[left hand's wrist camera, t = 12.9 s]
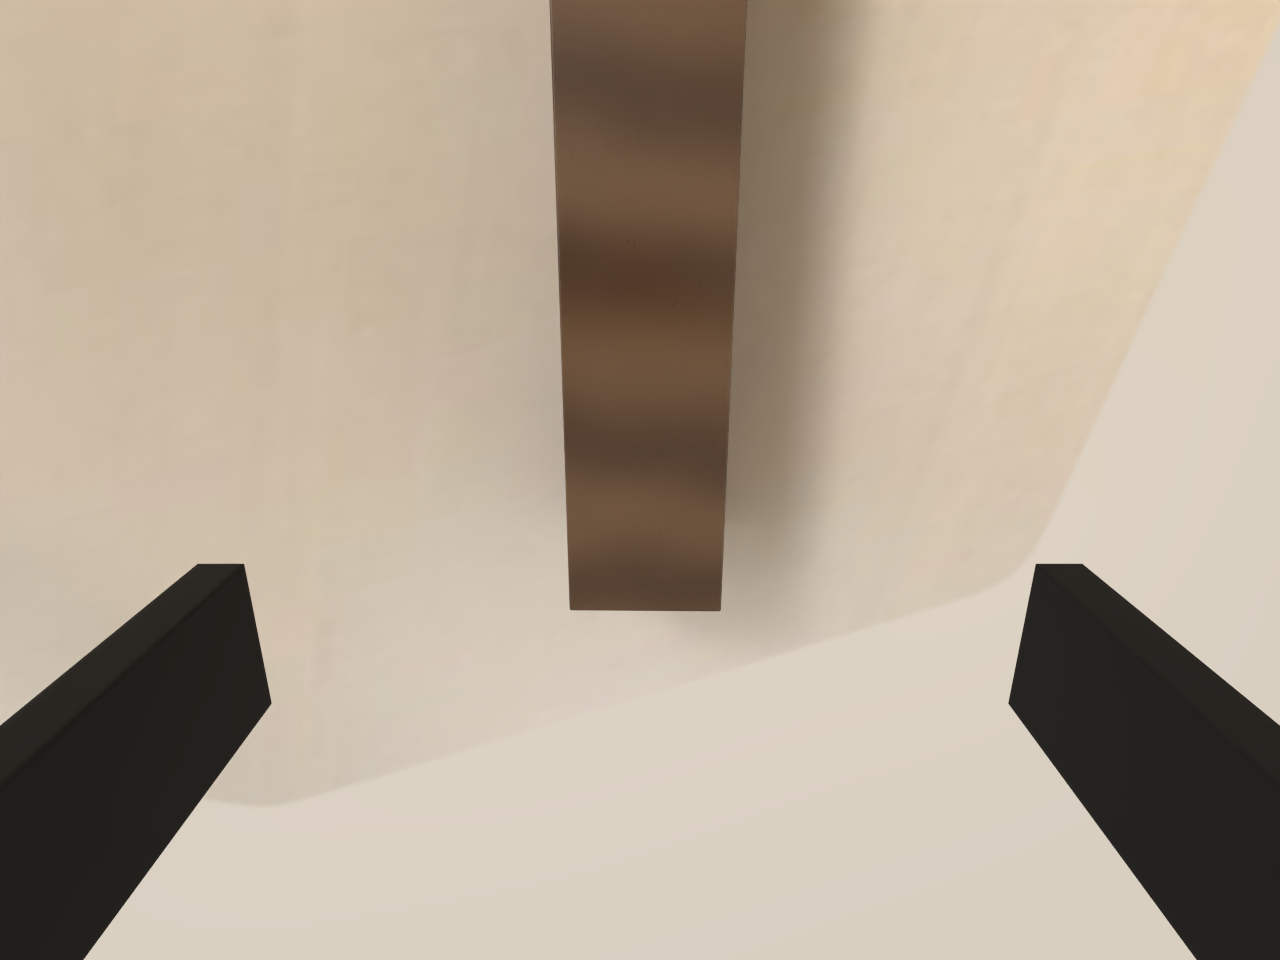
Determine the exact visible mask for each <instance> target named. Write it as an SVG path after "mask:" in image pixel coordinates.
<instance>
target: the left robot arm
mask: <svg viewBox="0 0 1280 960" xmlns="http://www.w3.org/2000/svg"><path fill="white" fill-rule="evenodd" d="M271 704H272V703H271V698H270V693H269V688H268V683H267V678H266V673H265V668H264V663H263V658H262V653H261V647H260V642H259V637H258V632H257V627H256V622H255V617H254V612H253V607H252V602H251V597H250V592H249V587H248V582H247V577H246V572H245V566H244V564H197V565H196V566H195V567H193V568H192V569H191V570H190V571H189V572H187V573H186V574H185V575H184V576H182V577H181V578H180V579H179V580H178V581H176V582H175V583H174V584H173V585H171V586H170V587H169V588H168V589H167V590H165V591H164V592H163V593H162V594H160V595H159V596H158V597H157V598H156V599H154V600H153V601H152V602H151V603H149V604H148V605H147V606H146V607H145V608H143V609H142V610H141V611H140V612H138V613H137V614H136V615H135V616H134V617H132V618H131V619H130V620H129V621H127V622H126V623H125V624H124V625H123V626H121V627H120V628H119V629H118V630H116V631H115V632H114V633H113V634H112V635H110V636H109V637H108V638H107V639H105V640H104V641H103V642H102V643H101V644H99V645H98V646H97V647H96V648H94V649H93V650H92V651H91V652H90V653H88V654H87V655H86V656H85V657H83V658H82V659H81V660H80V661H79V662H77V663H76V664H75V665H74V666H72V667H71V668H70V669H69V670H68V671H66V672H65V673H64V674H63V675H61V676H60V677H59V678H58V679H57V680H55V681H54V682H53V683H52V684H51V685H49V686H48V687H47V688H46V689H44V690H43V691H42V692H41V693H40V694H38V695H37V696H36V697H35V698H33V699H32V700H31V701H30V702H29V703H27V704H26V705H25V706H24V707H22V708H21V709H20V710H19V711H18V712H16V713H15V714H14V715H13V716H11V717H10V718H9V719H8V720H7V721H5V722H4V723H3V724H2V725H0V960H83V959H84V958H85V957H86V955H87V954H88V953H89V951H90V950H91V949H92V947H93V946H94V945H95V943H96V942H97V940H98V939H99V938H100V936H101V935H102V934H103V932H104V931H105V930H106V928H107V927H108V925H109V924H110V923H111V921H112V920H113V919H114V917H115V916H116V915H117V913H118V912H119V910H120V909H121V908H122V906H123V905H124V904H125V902H126V901H127V900H128V898H129V897H130V895H131V894H132V893H133V891H134V890H135V889H136V887H137V886H138V885H139V883H140V882H141V881H142V879H143V878H144V876H145V875H146V874H147V872H148V871H149V870H150V868H151V867H152V866H153V864H154V863H155V861H156V860H157V859H158V857H159V856H160V855H161V853H162V852H163V851H164V849H165V848H166V847H167V845H168V844H169V842H170V841H171V840H172V838H173V837H174V836H175V834H176V833H177V832H178V830H179V829H180V827H181V826H182V825H183V823H184V822H185V821H186V819H187V818H188V817H189V815H190V814H191V812H192V811H193V810H194V808H195V807H196V806H197V804H198V803H199V802H200V800H201V799H202V798H203V796H204V795H205V793H206V792H207V791H208V789H209V788H210V787H211V785H212V784H213V783H214V781H215V780H216V778H217V777H218V776H219V774H220V773H221V772H222V770H223V769H224V768H225V766H226V765H227V763H228V762H229V761H230V759H231V758H232V757H233V755H234V754H235V753H236V751H237V750H238V748H239V747H240V746H241V744H242V743H243V742H244V740H245V739H246V738H247V736H248V735H249V734H250V732H251V731H252V729H253V728H254V727H255V725H256V724H257V723H258V721H259V720H260V719H261V717H262V716H263V714H264V713H265V712H266V710H267V709H268V708H269V706H270V705H271ZM1009 705H1010V706H1011V708H1012V709H1013V710H1014V712H1015V713H1016V714H1017V716H1018V717H1019V719H1020V720H1021V721H1022V723H1023V724H1024V725H1025V727H1026V728H1027V729H1028V731H1029V732H1030V734H1031V735H1032V736H1033V738H1034V739H1035V740H1036V742H1037V743H1038V744H1039V746H1040V747H1041V748H1042V750H1043V751H1044V753H1045V754H1046V755H1047V757H1048V758H1049V759H1050V761H1051V762H1052V763H1053V765H1054V766H1055V767H1056V769H1057V770H1058V772H1059V773H1060V774H1061V776H1062V777H1063V778H1064V780H1065V781H1066V783H1067V784H1068V785H1069V787H1070V788H1071V789H1072V791H1073V792H1074V793H1075V795H1076V796H1077V798H1078V799H1079V800H1080V802H1081V803H1082V804H1083V806H1084V807H1085V808H1086V810H1087V811H1088V812H1089V814H1090V815H1091V817H1092V818H1093V819H1094V821H1095V822H1096V823H1097V825H1098V826H1099V827H1100V829H1101V830H1102V832H1103V833H1104V834H1105V836H1106V837H1107V838H1108V840H1109V841H1110V842H1111V844H1112V845H1113V846H1114V848H1115V849H1116V851H1117V852H1118V853H1119V855H1120V856H1121V857H1122V859H1123V860H1124V861H1125V863H1126V864H1127V865H1128V867H1129V868H1130V870H1131V871H1132V872H1133V874H1134V875H1135V876H1136V878H1137V879H1138V881H1139V882H1140V883H1141V885H1142V886H1143V887H1144V889H1145V890H1146V891H1147V893H1148V894H1149V896H1150V897H1151V898H1152V900H1153V901H1154V902H1155V904H1156V905H1157V906H1158V908H1159V909H1160V911H1161V912H1162V913H1163V915H1164V916H1165V917H1166V919H1167V920H1168V921H1169V923H1170V924H1171V925H1172V927H1173V928H1174V930H1175V931H1176V932H1177V934H1178V935H1179V936H1180V938H1181V939H1182V940H1183V942H1184V943H1185V945H1186V946H1187V947H1188V949H1189V950H1190V951H1191V953H1192V954H1193V955H1194V957H1195V958H1196V959H1197V960H1280V725H1278V724H1277V723H1276V722H1275V721H1273V720H1272V719H1271V718H1270V717H1269V716H1267V715H1266V714H1265V713H1264V712H1262V711H1261V710H1260V709H1259V708H1257V707H1256V706H1255V705H1254V704H1253V703H1251V702H1250V701H1249V700H1248V699H1247V698H1245V697H1244V696H1243V695H1242V694H1240V693H1239V692H1238V691H1237V690H1236V689H1234V688H1233V687H1232V686H1231V685H1229V684H1228V683H1227V682H1226V681H1225V680H1223V679H1222V678H1221V677H1220V676H1219V675H1217V674H1216V673H1215V672H1214V671H1212V670H1211V669H1210V668H1209V667H1208V666H1206V665H1205V664H1204V663H1203V662H1201V661H1200V660H1199V659H1198V658H1197V657H1195V656H1194V655H1193V654H1192V653H1190V652H1189V651H1188V650H1187V649H1186V648H1184V647H1183V646H1182V645H1181V644H1179V643H1178V642H1177V641H1176V640H1175V639H1173V638H1172V637H1171V636H1170V635H1168V634H1167V633H1166V632H1165V631H1164V630H1162V629H1161V628H1160V627H1159V626H1157V625H1156V624H1155V623H1154V622H1153V621H1151V620H1150V619H1149V618H1148V617H1146V616H1145V615H1144V614H1143V613H1142V612H1140V611H1139V610H1138V609H1137V608H1135V607H1134V606H1133V605H1132V604H1130V603H1129V602H1128V601H1127V600H1126V599H1124V598H1123V597H1122V596H1121V595H1120V594H1118V593H1117V592H1116V591H1115V590H1113V589H1112V588H1111V587H1110V586H1108V585H1107V584H1106V583H1105V582H1104V581H1102V580H1101V579H1100V578H1099V577H1098V576H1096V575H1095V574H1094V573H1093V572H1091V571H1090V570H1089V569H1088V568H1087V567H1085V566H1084V565H1083V564H1036V567H1035V572H1034V577H1033V582H1032V587H1031V592H1030V597H1029V602H1028V607H1027V612H1026V617H1025V622H1024V627H1023V632H1022V637H1021V642H1020V647H1019V653H1018V658H1017V663H1016V668H1015V673H1014V678H1013V683H1012V688H1011V693H1010V698H1009Z"/></svg>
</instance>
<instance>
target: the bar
mask: <svg viewBox="0 0 1280 960" xmlns="http://www.w3.org/2000/svg"><path fill="white" fill-rule="evenodd" d="M746 12H747V0H550V28H551V59H552V89H553V119H554V149H555V179H556V209H557V239H558V269H559V299H560V330H561V360H562V390H563V420H564V450H565V480H566V510H567V540H568V571H569V601H570V610H623V611H720V610H721V593H722V570H723V546H724V523H725V500H726V477H727V454H728V430H729V407H730V384H731V361H732V338H733V314H734V291H735V268H736V245H737V221H738V198H739V175H740V152H741V129H742V105H743V82H744V59H745V36H746Z"/></svg>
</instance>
